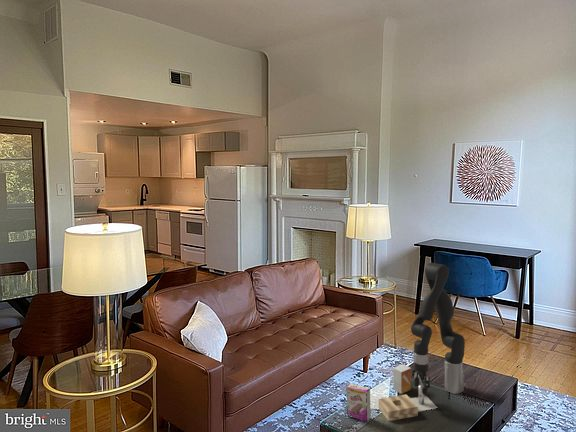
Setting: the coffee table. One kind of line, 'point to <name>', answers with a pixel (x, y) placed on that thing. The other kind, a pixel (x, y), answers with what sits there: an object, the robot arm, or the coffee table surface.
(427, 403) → the mat
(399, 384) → the small box
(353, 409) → the candy bar box
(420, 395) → the peg
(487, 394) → the coffee table surface
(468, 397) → the coffee table surface
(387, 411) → the hole block
